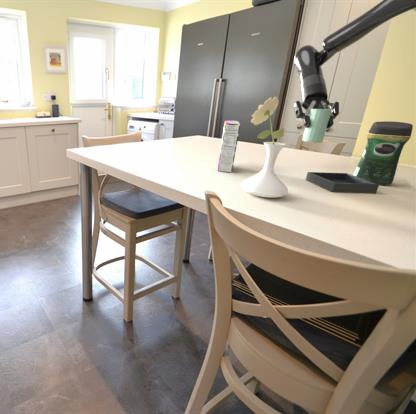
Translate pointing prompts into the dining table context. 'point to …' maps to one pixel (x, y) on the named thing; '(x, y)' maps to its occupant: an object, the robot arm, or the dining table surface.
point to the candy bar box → (228, 146)
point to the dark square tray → (341, 182)
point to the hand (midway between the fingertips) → (318, 126)
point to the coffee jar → (383, 151)
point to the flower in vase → (267, 157)
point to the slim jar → (317, 125)
